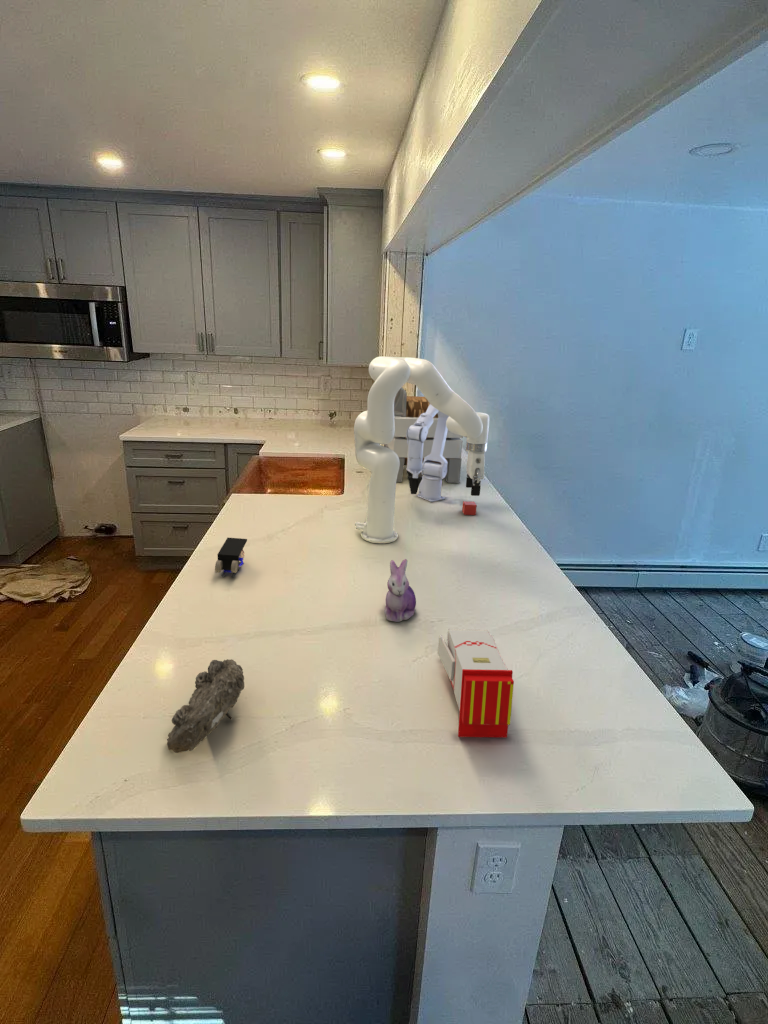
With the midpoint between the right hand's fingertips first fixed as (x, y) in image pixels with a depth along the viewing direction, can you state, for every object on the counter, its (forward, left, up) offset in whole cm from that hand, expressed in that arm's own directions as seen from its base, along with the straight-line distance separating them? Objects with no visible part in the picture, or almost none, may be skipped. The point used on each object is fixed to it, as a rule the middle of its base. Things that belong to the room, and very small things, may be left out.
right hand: (413, 490), depth 221 cm
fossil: (+69, -110, -8) cm, 130 cm away
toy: (+92, -64, -8) cm, 112 cm away
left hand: (+19, +13, +3) cm, 23 cm away
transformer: (-39, +39, -8) cm, 56 cm away
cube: (+14, +18, -8) cm, 24 cm away
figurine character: (+11, -80, -8) cm, 81 cm away
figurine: (+59, -56, -8) cm, 82 cm away
